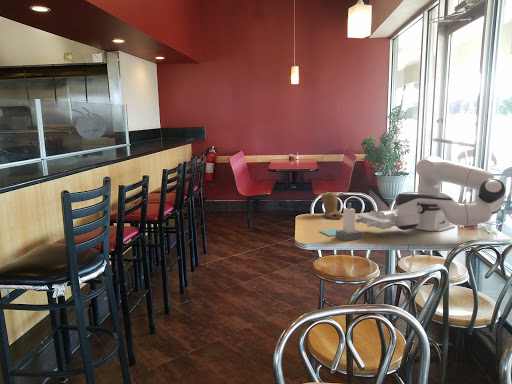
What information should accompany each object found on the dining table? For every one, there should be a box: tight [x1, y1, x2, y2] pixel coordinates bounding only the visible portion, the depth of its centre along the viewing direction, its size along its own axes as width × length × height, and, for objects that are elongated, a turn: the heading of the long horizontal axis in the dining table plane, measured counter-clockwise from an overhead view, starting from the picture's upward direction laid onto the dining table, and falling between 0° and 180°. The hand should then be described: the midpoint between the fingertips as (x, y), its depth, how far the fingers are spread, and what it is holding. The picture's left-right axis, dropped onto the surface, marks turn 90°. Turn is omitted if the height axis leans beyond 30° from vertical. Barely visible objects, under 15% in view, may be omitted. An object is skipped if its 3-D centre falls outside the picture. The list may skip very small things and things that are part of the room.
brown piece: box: [320, 191, 343, 220], centre depth 249 cm, size 15×12×15 cm
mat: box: [318, 228, 338, 238], centre depth 214 cm, size 10×10×1 cm
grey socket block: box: [335, 229, 362, 242], centre depth 205 cm, size 10×8×4 cm
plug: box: [342, 202, 356, 233], centre depth 203 cm, size 4×4×18 cm
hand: (361, 222), depth 205 cm, fingers open, 8 cm apart
